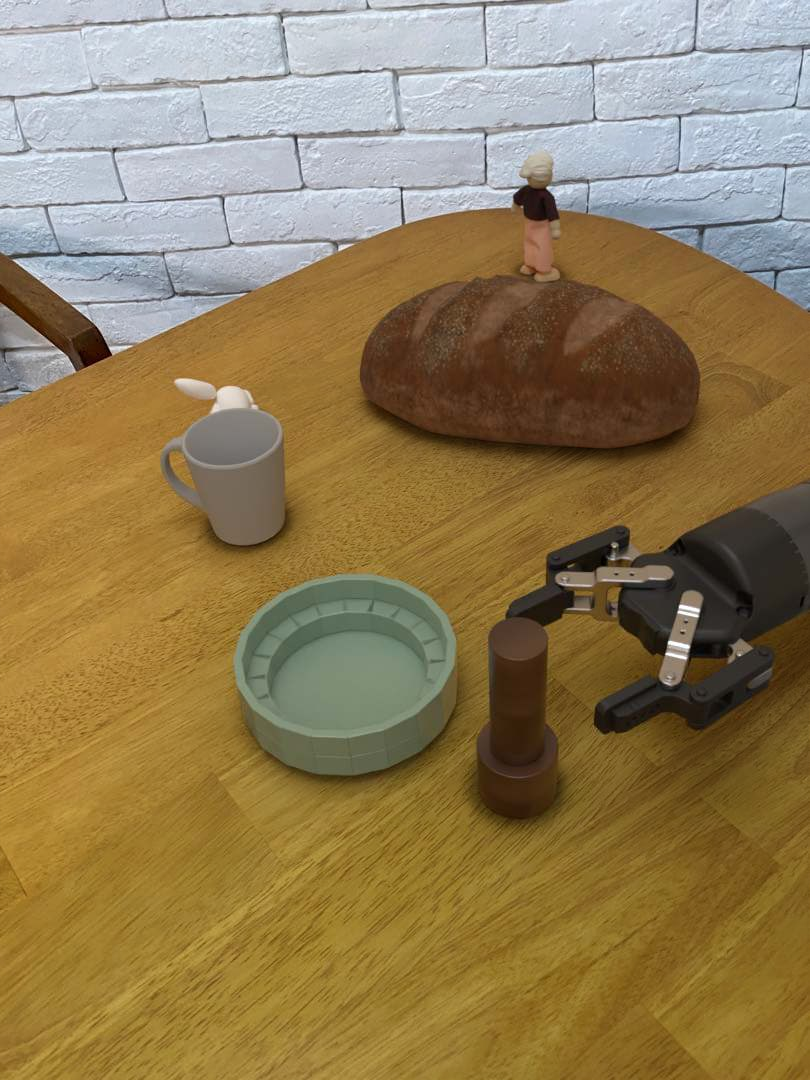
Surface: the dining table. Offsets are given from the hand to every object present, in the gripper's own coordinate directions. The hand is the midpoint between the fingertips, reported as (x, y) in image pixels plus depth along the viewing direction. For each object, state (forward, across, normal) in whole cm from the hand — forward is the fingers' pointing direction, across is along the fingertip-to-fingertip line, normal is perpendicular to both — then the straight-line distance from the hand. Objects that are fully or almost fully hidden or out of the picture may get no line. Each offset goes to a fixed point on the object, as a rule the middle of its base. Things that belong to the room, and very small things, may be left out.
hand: (551, 671), depth 64 cm
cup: (+6, -33, +9) cm, 35 cm away
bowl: (+7, -12, +9) cm, 17 cm away
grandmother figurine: (-37, -52, +9) cm, 64 cm away
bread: (-22, -33, +9) cm, 41 cm away
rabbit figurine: (+2, -45, +9) cm, 46 cm away
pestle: (+2, 0, +9) cm, 9 cm away
